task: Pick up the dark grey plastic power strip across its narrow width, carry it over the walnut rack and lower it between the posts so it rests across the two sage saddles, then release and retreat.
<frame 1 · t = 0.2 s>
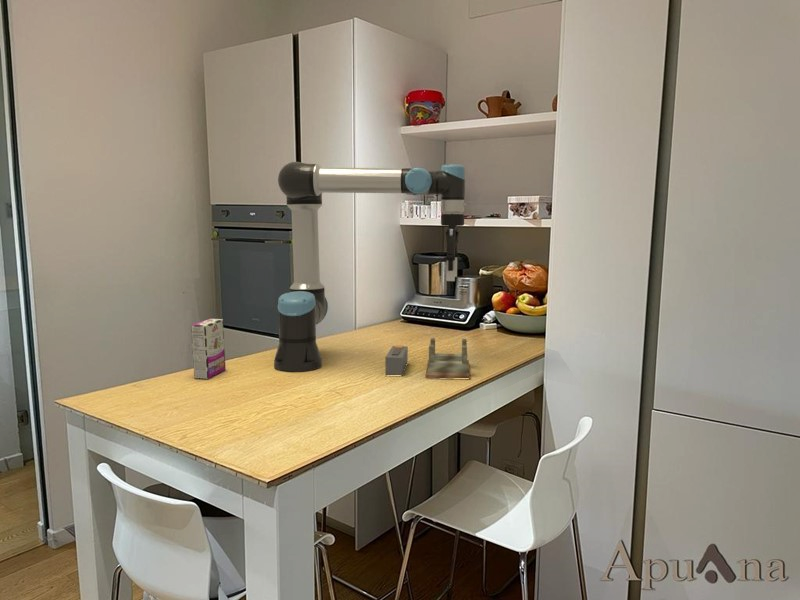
hand: (451, 278, 203), 27 cm above the table, fingers open, 13 cm apart
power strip: (396, 370, 195), on the table
candy bar box: (209, 375, 188), on the table
rack: (447, 370, 193), on the table
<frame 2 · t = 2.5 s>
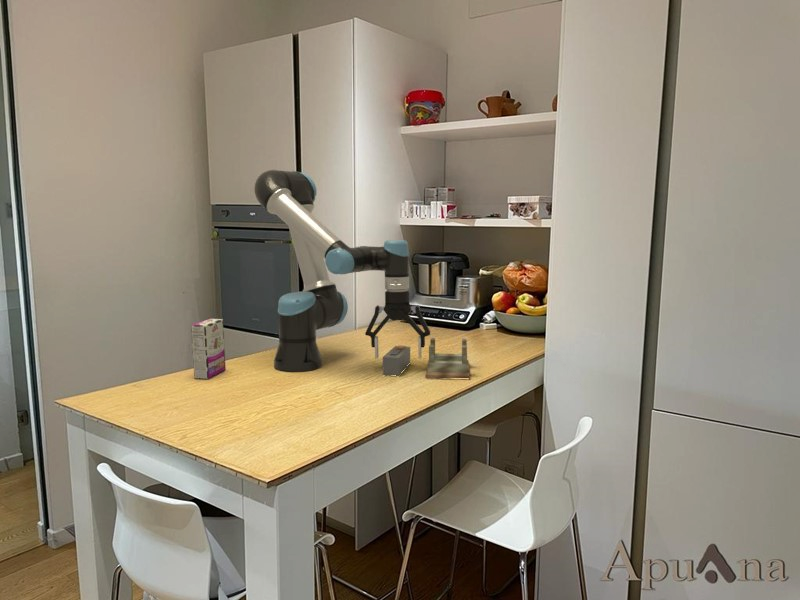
hand: (398, 357, 194), 4 cm above the table, fingers open, 13 cm apart
nothing on the table moved.
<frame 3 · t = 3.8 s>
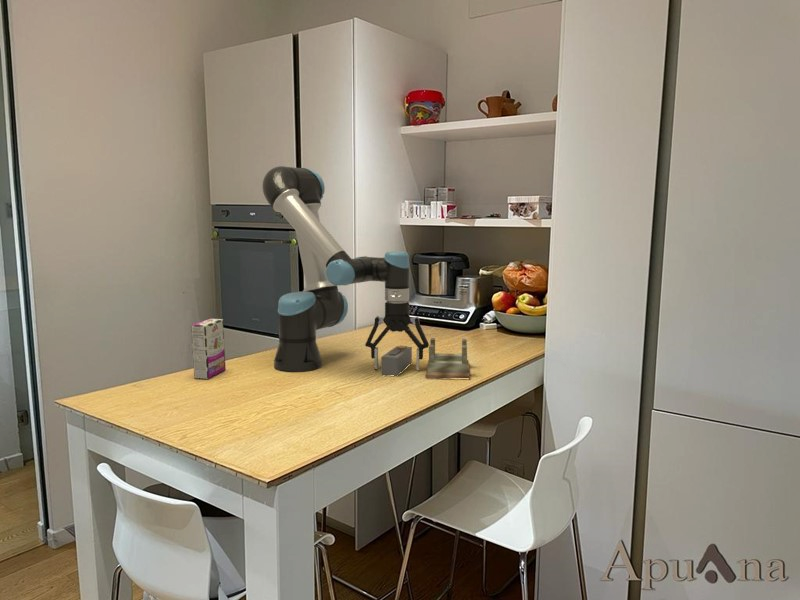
hand: (397, 369, 195), 0 cm above the table, fingers open, 12 cm apart
nothing on the table moved.
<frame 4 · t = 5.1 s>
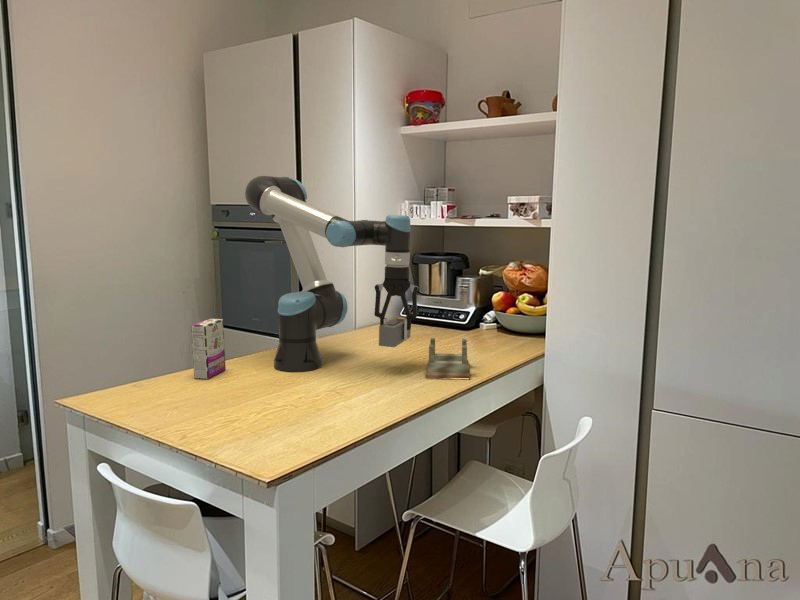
hand: (395, 339, 194), 10 cm above the table, fingers closed on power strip, 6 cm apart
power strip: (395, 341, 194), point 9 cm above the table, touching gripper
everything else where it was.
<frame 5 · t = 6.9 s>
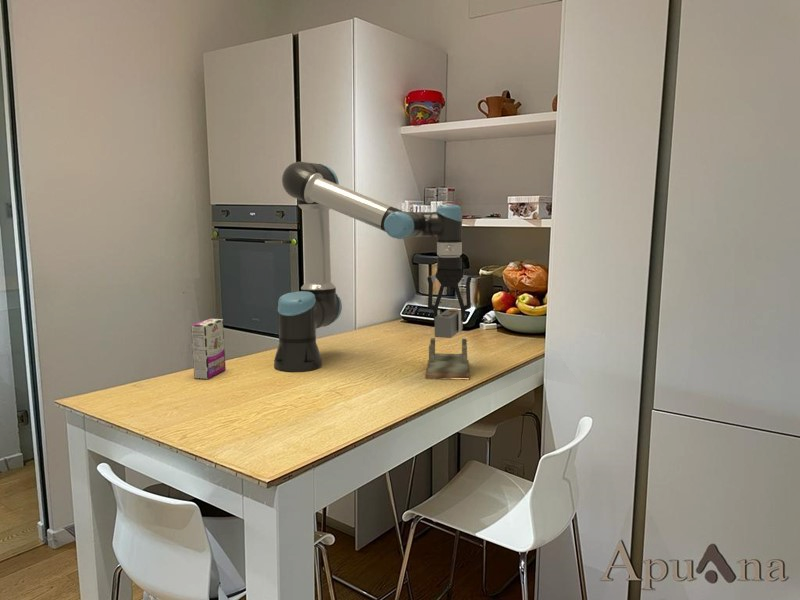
hand: (449, 331, 192), 13 cm above the table, fingers closed on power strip, 6 cm apart
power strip: (449, 332, 192), point 12 cm above the table, touching gripper
everything else where it was.
when the fingers open (5 cm above the table, at t = 9.0 s): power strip stays where it is, resting on rack.
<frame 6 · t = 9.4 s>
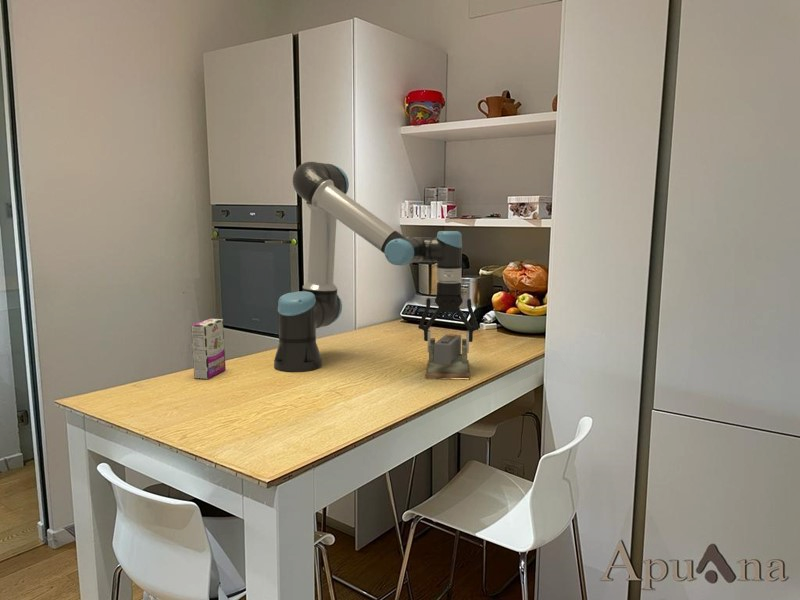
hand: (448, 351, 193), 6 cm above the table, fingers open, 11 cm apart
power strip: (447, 358, 193), point 4 cm above the table, touching rack
everything else where it was.
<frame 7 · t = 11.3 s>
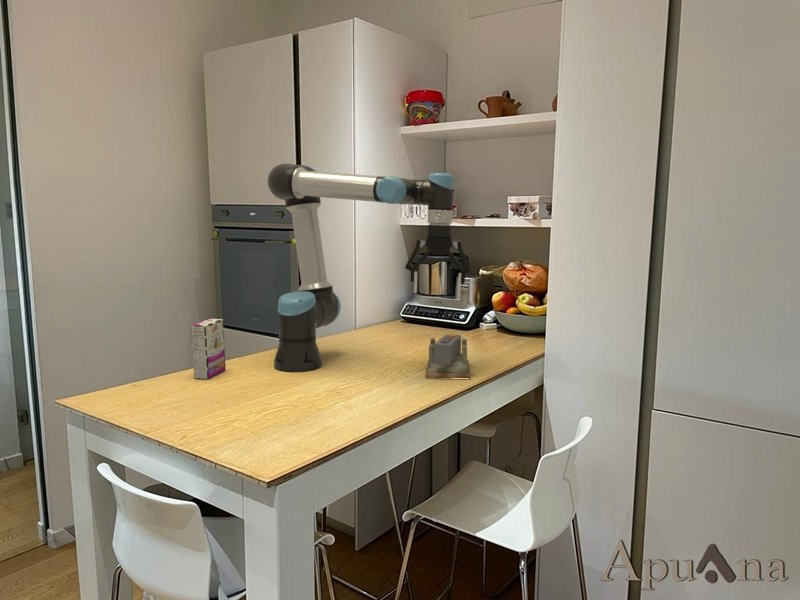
hand: (437, 293, 193), 24 cm above the table, fingers open, 13 cm apart
nothing on the table moved.
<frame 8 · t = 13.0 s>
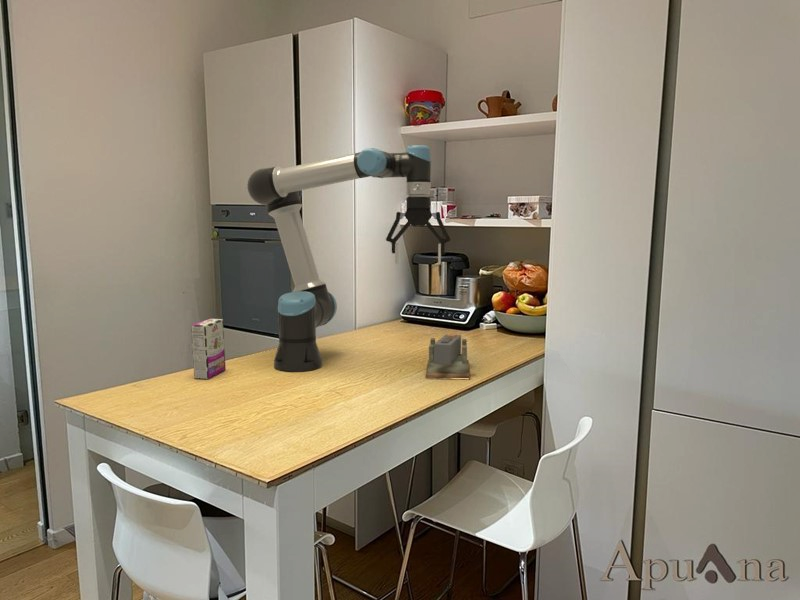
hand: (418, 264, 197), 33 cm above the table, fingers open, 13 cm apart
nothing on the table moved.
at the end: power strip inside the target area on the rack (0.1 cm from its centre), point 4.0 cm above the rack's base; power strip tilted 0°; the gripper is holding nothing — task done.
